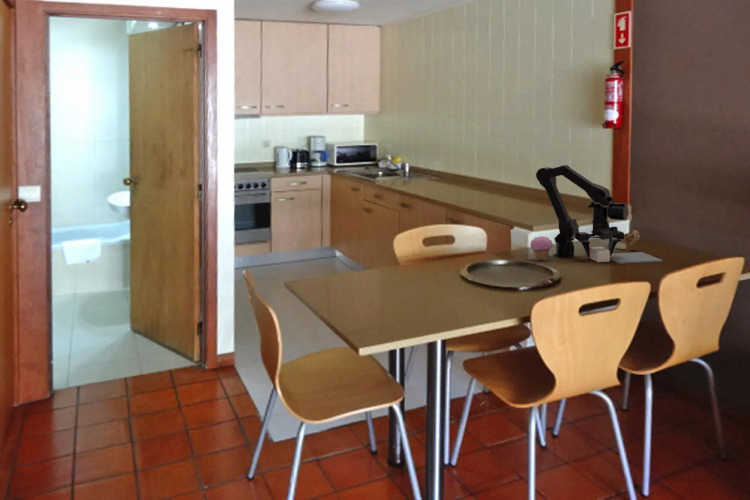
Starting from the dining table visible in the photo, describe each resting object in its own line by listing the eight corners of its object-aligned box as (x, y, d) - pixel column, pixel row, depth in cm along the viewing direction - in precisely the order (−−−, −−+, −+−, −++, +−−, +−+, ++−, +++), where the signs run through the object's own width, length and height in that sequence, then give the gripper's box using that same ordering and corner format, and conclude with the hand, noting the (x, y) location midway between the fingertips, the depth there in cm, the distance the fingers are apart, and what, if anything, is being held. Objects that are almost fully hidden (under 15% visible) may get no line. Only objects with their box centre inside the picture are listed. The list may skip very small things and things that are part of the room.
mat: (618, 263, 265) (619, 262, 265) (600, 255, 283) (600, 254, 283) (662, 261, 266) (663, 260, 266) (642, 253, 284) (642, 252, 284)
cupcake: (552, 258, 280) (552, 234, 278) (552, 262, 272) (552, 238, 270) (530, 257, 282) (530, 234, 281) (529, 262, 274) (529, 237, 272)
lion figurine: (641, 250, 291) (641, 230, 289) (635, 252, 287) (636, 231, 286) (609, 247, 301) (609, 227, 300) (603, 248, 298) (604, 228, 296)
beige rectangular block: (597, 262, 270) (597, 251, 269) (588, 257, 279) (589, 247, 278) (609, 261, 270) (610, 250, 270) (600, 257, 279) (601, 246, 278)
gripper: (585, 222, 263) (584, 261, 266) (631, 220, 264) (629, 259, 267) (575, 218, 274) (574, 256, 277) (619, 216, 275) (618, 254, 278)
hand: (599, 256), depth 274 cm, fingers open, 9 cm apart
